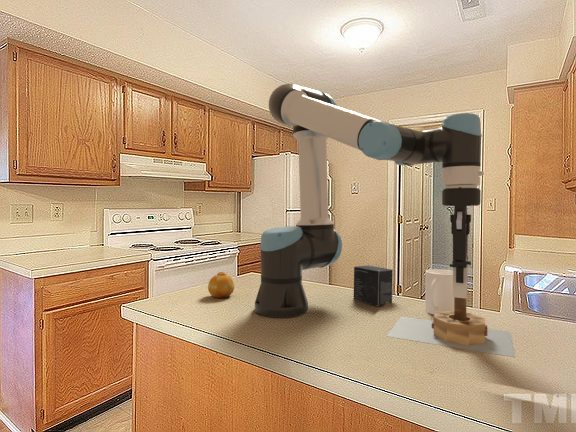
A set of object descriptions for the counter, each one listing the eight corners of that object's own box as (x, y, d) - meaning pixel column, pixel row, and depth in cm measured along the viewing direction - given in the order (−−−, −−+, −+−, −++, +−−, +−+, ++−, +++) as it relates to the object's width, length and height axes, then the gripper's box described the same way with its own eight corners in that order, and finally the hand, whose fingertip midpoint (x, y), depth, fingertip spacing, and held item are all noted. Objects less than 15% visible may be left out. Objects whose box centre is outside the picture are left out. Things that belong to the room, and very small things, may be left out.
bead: (429, 339, 79) (430, 320, 79) (435, 325, 88) (435, 308, 88) (487, 348, 74) (487, 328, 74) (487, 332, 83) (487, 315, 83)
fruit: (224, 284, 128) (216, 266, 124) (242, 289, 123) (234, 271, 119) (208, 301, 123) (199, 282, 119) (226, 307, 118) (217, 288, 114)
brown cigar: (453, 326, 80) (453, 252, 80) (454, 322, 83) (454, 251, 82) (466, 327, 79) (466, 253, 79) (466, 324, 81) (467, 251, 81)
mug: (444, 326, 91) (445, 277, 91) (412, 318, 98) (412, 273, 97) (464, 316, 99) (464, 271, 99) (433, 309, 106) (433, 267, 105)
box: (393, 303, 112) (393, 269, 112) (378, 307, 109) (378, 271, 108) (367, 296, 121) (367, 264, 121) (352, 299, 117) (352, 266, 117)
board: (386, 341, 81) (386, 336, 81) (401, 321, 95) (401, 316, 95) (514, 363, 70) (515, 357, 70) (509, 336, 84) (510, 331, 84)
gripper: (480, 185, 72) (479, 306, 72) (480, 188, 85) (480, 290, 86) (438, 186, 75) (437, 302, 76) (445, 189, 89) (444, 287, 89)
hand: (460, 295), depth 81 cm, fingers closed on brown cigar, 2 cm apart
